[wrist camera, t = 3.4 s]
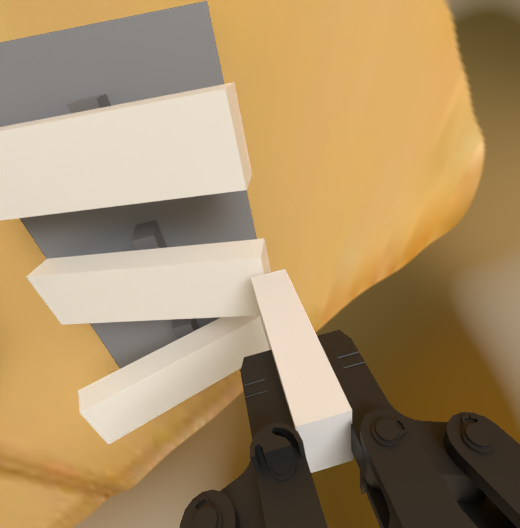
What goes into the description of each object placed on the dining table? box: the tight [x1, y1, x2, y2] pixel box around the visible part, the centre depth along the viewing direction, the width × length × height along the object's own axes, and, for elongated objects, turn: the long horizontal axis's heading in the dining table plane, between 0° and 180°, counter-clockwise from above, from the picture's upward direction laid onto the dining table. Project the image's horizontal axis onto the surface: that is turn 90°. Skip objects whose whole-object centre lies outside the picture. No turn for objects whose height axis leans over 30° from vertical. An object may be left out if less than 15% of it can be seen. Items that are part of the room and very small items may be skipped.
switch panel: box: [0, 1, 257, 369], centre depth 20 cm, size 12×22×6 cm, turn 10°
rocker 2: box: [27, 239, 271, 325], centre depth 16 cm, size 12×3×2 cm, turn 100°
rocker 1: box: [0, 82, 252, 220], centre depth 13 cm, size 12×3×2 cm, turn 100°
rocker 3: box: [78, 315, 269, 445], centre depth 20 cm, size 12×3×2 cm, turn 100°
